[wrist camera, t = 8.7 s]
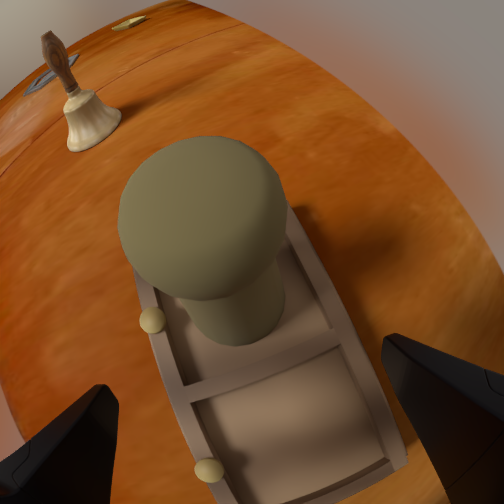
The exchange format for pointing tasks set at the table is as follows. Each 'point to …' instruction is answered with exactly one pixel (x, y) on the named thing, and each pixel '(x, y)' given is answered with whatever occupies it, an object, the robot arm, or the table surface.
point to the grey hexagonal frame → (34, 88)
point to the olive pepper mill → (209, 234)
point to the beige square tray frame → (129, 23)
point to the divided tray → (278, 393)
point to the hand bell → (79, 101)
